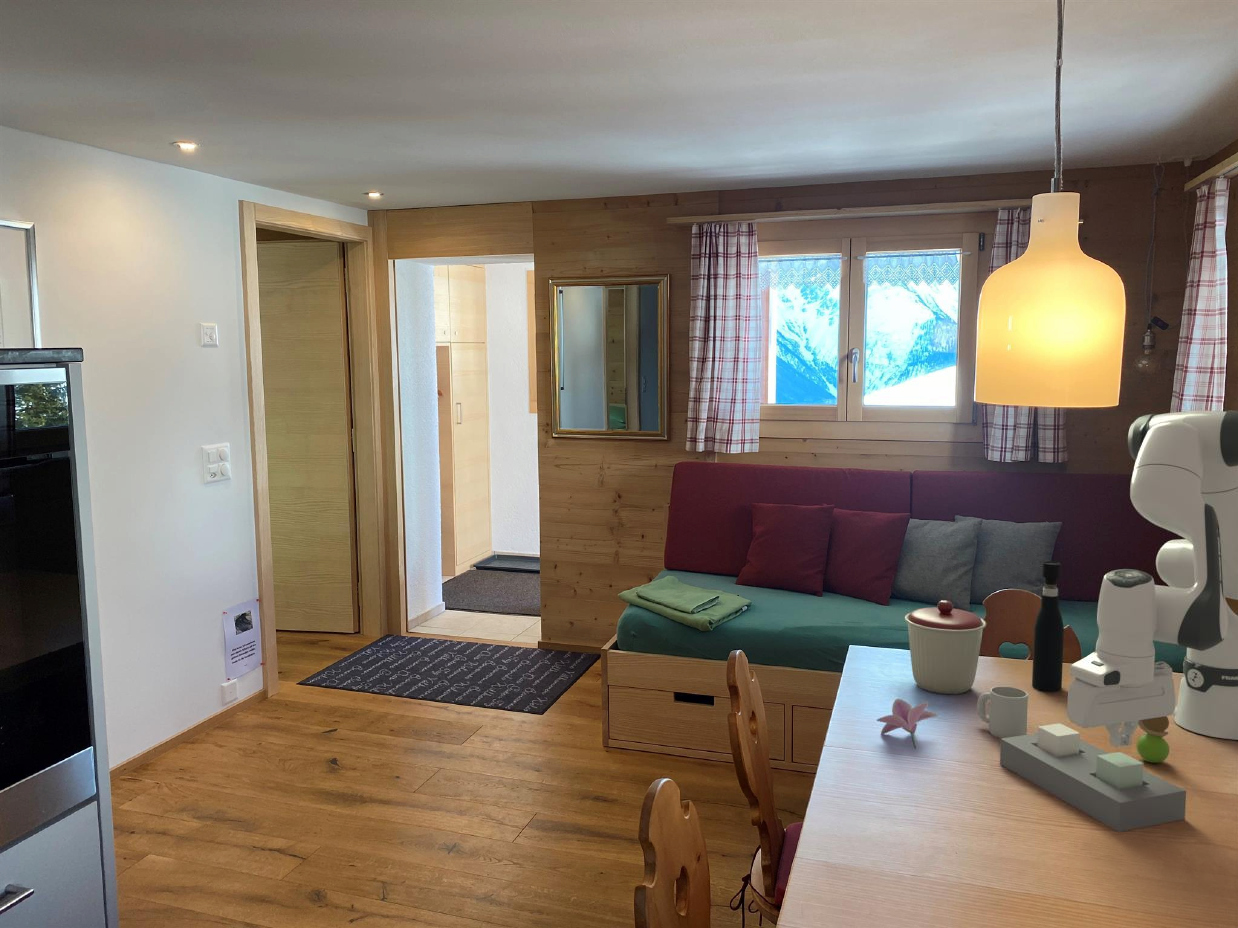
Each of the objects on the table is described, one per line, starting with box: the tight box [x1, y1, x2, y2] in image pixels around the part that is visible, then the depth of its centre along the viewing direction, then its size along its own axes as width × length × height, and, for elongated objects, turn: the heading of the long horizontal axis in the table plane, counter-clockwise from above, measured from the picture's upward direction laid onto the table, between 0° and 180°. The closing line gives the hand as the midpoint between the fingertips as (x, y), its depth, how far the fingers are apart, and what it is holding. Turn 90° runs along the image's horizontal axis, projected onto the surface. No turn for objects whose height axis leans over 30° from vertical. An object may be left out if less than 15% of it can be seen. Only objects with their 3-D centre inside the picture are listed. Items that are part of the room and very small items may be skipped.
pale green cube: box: [1096, 751, 1144, 790], centre depth 160 cm, size 5×5×5 cm
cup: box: [976, 685, 1029, 739], centre depth 193 cm, size 7×10×9 cm
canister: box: [904, 599, 987, 695], centre depth 220 cm, size 18×18×21 cm
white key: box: [1037, 722, 1081, 757], centre depth 173 cm, size 5×5×5 cm
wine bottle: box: [1031, 560, 1065, 693], centre depth 219 cm, size 6×6×30 cm
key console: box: [999, 732, 1187, 833], centre depth 167 cm, size 14×28×5 cm, turn 18°
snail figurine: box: [1136, 716, 1170, 764], centre depth 178 cm, size 5×6×12 cm
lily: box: [876, 698, 939, 750], centre depth 189 cm, size 12×12×10 cm
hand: (1120, 744), depth 159 cm, fingers closed
